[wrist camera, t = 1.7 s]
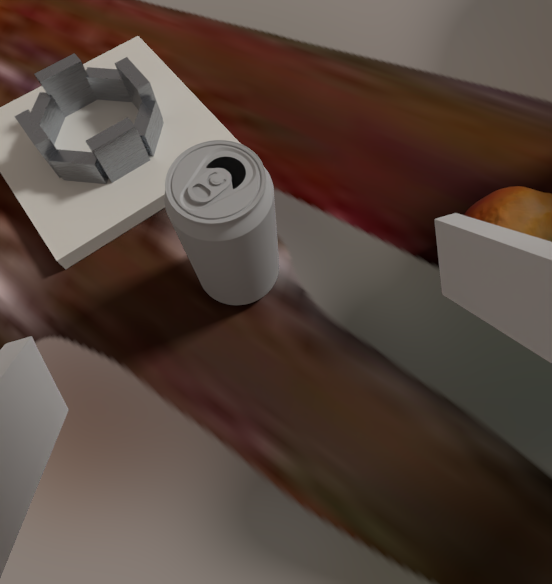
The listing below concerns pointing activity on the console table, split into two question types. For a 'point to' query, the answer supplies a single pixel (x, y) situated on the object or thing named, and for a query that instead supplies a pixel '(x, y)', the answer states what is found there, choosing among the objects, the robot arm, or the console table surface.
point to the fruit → (516, 211)
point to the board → (73, 134)
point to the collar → (107, 144)
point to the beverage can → (225, 219)
